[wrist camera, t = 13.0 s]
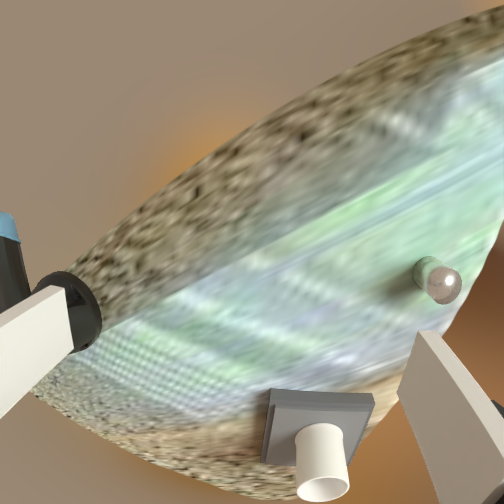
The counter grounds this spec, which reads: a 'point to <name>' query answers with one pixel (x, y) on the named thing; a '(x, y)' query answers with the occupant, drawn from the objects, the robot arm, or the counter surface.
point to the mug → (320, 463)
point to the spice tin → (437, 279)
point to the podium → (312, 421)
